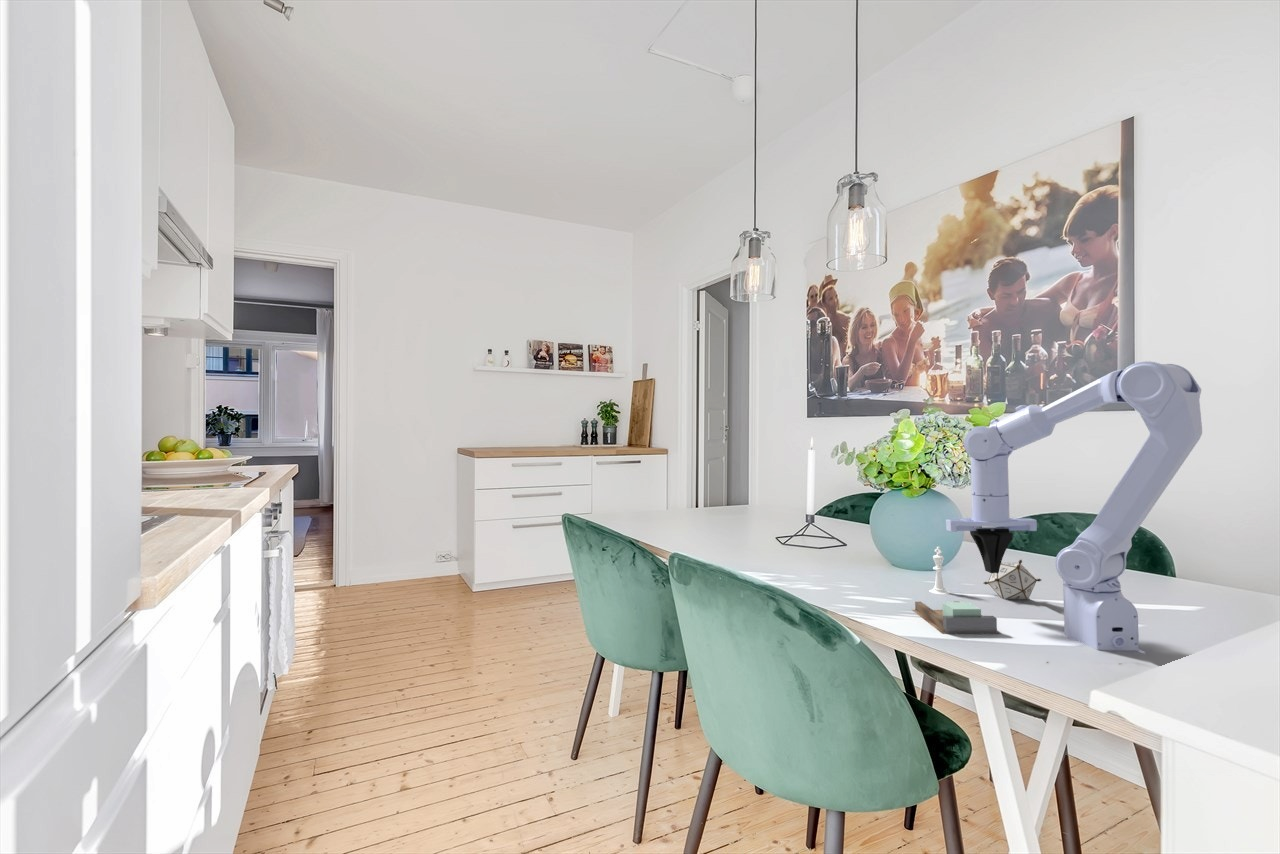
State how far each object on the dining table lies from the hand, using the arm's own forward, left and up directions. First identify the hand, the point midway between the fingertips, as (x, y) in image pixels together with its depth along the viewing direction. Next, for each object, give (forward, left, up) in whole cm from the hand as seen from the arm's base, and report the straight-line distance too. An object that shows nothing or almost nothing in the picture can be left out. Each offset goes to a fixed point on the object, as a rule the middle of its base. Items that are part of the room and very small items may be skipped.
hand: (991, 571), depth 107 cm
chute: (-4, +9, -8) cm, 13 cm away
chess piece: (+15, +3, -9) cm, 18 cm away
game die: (+11, -9, -9) cm, 17 cm away
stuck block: (-7, +9, -7) cm, 13 cm away
